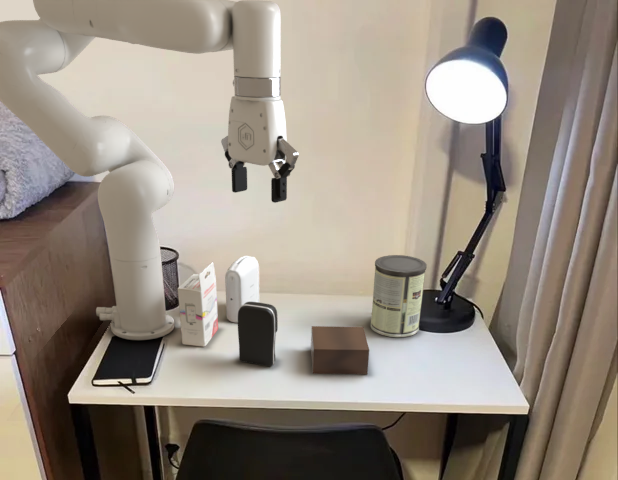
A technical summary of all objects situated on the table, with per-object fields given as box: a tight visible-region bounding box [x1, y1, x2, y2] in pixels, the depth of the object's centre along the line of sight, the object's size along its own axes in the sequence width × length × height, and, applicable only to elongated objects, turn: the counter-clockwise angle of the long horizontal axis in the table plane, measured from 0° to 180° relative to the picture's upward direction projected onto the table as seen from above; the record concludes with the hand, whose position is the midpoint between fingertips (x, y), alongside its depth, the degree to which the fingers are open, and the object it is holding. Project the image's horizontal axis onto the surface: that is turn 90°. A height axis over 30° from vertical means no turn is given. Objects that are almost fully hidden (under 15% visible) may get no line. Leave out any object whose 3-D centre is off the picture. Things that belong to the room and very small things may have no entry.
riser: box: [310, 325, 370, 375], centre depth 124 cm, size 10×10×5 cm
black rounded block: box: [237, 301, 279, 367], centre depth 122 cm, size 7×4×11 cm, turn 74°
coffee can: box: [370, 254, 428, 338], centre depth 136 cm, size 10×10×14 cm
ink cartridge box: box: [177, 261, 219, 347], centre depth 129 cm, size 9×5×15 cm, turn 168°
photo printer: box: [224, 255, 260, 324], centre depth 140 cm, size 10×4×12 cm, turn 160°
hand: (259, 196), depth 116 cm, fingers open, 9 cm apart
